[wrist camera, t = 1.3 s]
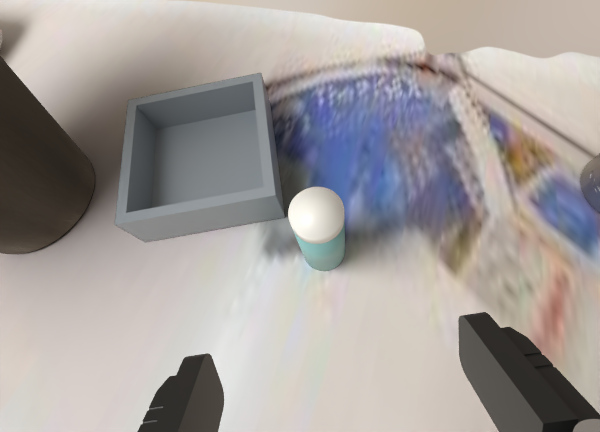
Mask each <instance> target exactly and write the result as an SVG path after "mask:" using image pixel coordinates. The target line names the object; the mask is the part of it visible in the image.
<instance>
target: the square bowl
mask: <svg viewBox="0 0 600 432" xmlns="http://www.w3.org/2000/svg"><path fill="white" fill-rule="evenodd" d="M1 45H2V32H1V29H0V51H1Z"/></svg>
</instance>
